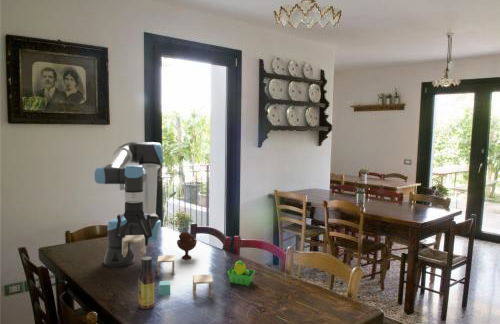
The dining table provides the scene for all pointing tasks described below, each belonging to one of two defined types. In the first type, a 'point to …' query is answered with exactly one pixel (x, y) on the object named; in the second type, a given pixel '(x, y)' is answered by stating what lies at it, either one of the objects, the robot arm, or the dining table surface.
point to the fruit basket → (240, 274)
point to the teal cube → (164, 288)
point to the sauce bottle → (146, 284)
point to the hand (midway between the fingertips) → (133, 253)
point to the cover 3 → (202, 280)
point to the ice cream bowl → (186, 243)
